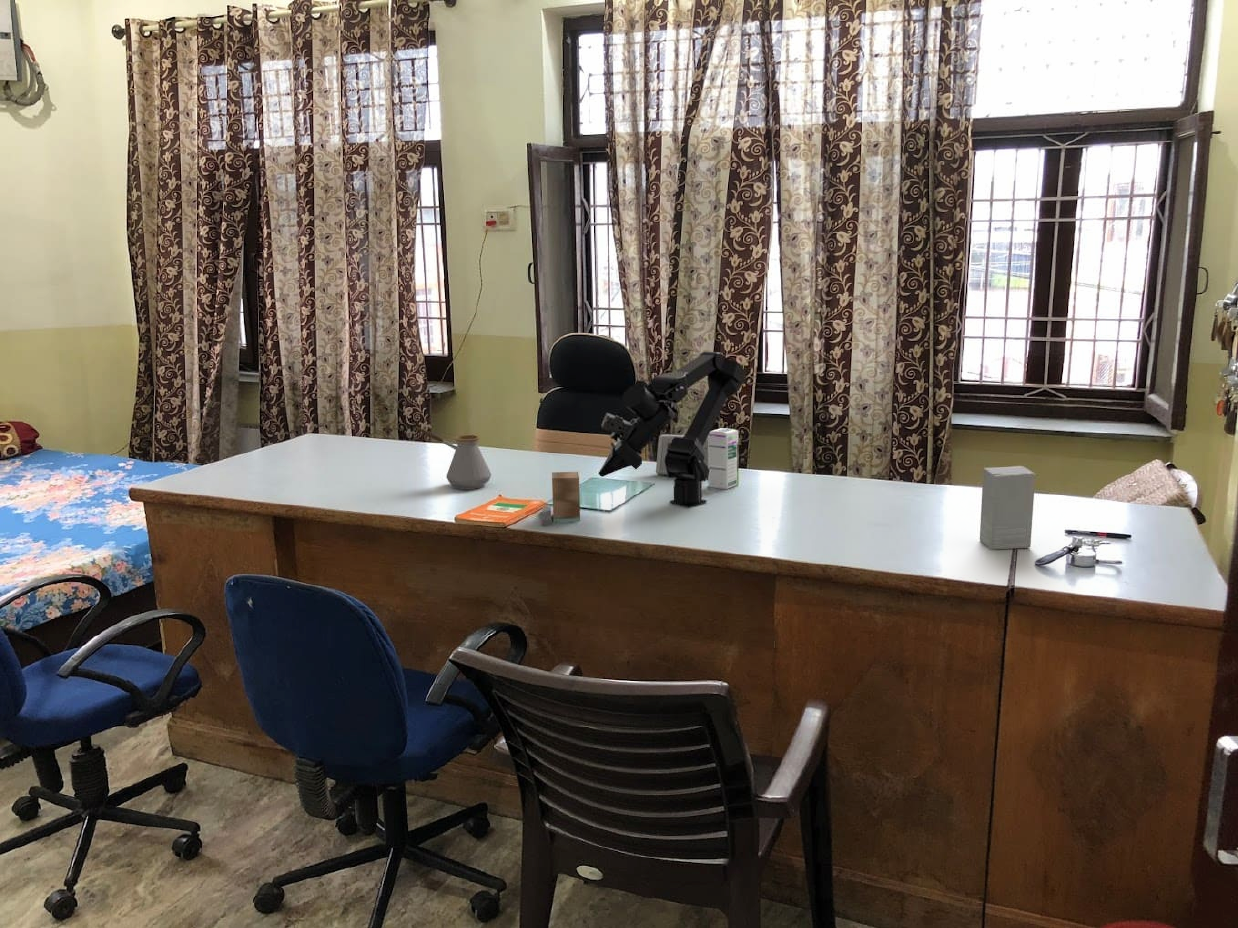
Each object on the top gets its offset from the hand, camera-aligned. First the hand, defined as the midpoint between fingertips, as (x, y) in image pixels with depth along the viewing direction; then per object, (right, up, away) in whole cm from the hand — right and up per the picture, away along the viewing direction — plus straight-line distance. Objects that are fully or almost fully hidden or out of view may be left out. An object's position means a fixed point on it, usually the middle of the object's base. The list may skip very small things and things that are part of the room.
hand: (599, 475), depth 221 cm
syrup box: (+31, -3, +29) cm, 42 cm away
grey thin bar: (-12, -10, +1) cm, 16 cm away
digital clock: (+22, -1, +41) cm, 47 cm away
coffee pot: (-39, -3, +35) cm, 52 cm away
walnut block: (-8, -10, +2) cm, 12 cm away
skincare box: (+82, -14, -24) cm, 86 cm away
